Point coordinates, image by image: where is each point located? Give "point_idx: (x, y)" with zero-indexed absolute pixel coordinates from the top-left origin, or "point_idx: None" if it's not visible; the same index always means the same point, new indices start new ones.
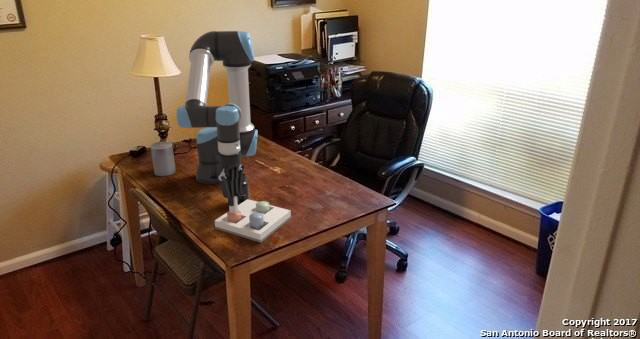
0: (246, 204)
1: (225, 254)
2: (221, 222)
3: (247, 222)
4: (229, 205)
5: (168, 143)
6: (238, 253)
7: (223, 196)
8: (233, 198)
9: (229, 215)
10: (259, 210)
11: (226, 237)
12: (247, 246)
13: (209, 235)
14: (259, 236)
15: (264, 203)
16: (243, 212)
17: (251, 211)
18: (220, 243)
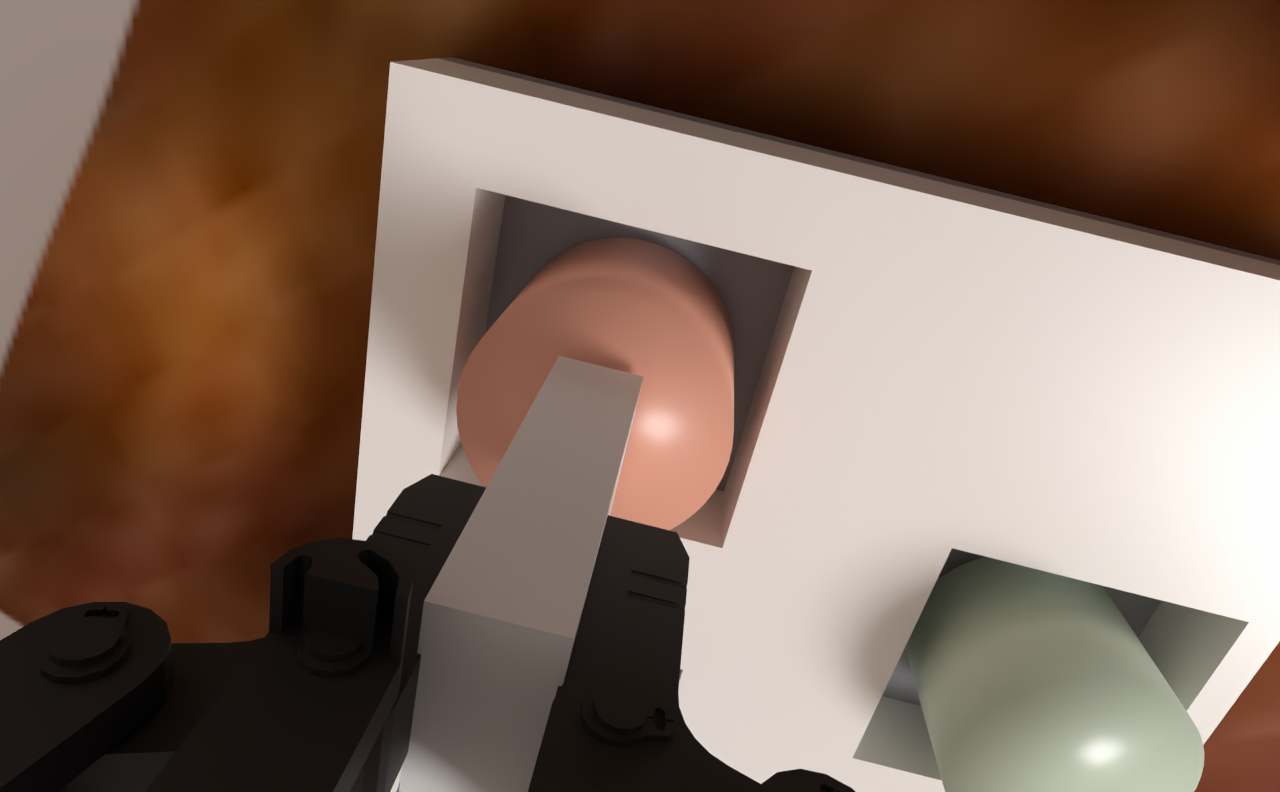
0: (1208, 401)
1: (6, 471)
2: (381, 231)
3: None
4: (420, 500)
5: None
6: (99, 584)
7: (27, 630)
8: (412, 738)
9: (468, 385)
10: (930, 692)
11: (309, 337)
12: (256, 624)
13: (241, 65)
14: None
15: (1101, 788)
16: (849, 458)
17: (912, 567)
18: (152, 324)
